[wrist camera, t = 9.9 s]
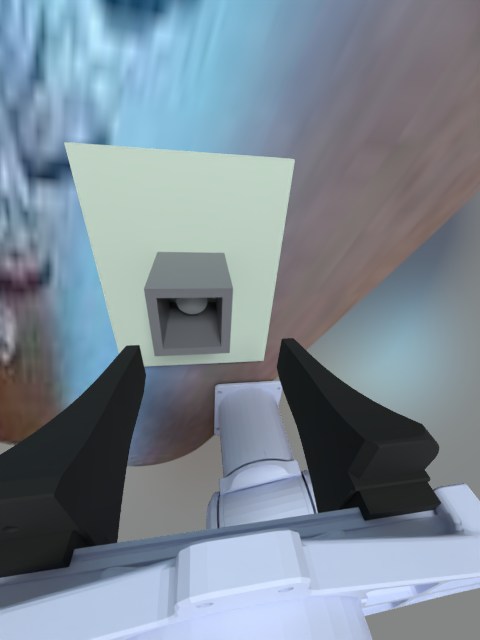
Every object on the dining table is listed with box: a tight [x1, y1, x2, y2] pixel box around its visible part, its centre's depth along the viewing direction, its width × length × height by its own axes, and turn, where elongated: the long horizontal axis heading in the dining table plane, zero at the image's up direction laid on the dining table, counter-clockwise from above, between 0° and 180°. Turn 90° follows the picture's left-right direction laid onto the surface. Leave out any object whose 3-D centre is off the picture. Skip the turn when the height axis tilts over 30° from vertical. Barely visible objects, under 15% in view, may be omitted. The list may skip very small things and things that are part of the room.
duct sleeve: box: [144, 252, 233, 356], centre depth 19 cm, size 5×5×6 cm
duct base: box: [65, 143, 295, 367], centre depth 20 cm, size 18×14×4 cm
